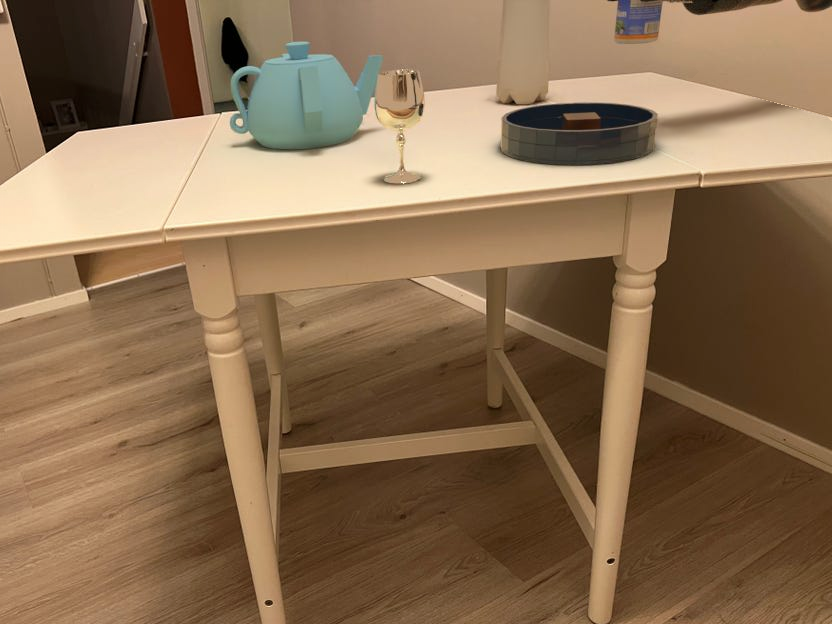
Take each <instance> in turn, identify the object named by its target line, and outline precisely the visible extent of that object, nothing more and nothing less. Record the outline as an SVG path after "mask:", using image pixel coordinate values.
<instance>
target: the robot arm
mask: <svg viewBox="0 0 832 624" xmlns="http://www.w3.org/2000/svg"><path fill="white" fill-rule="evenodd" d="M606 1H607V2H618V0H606ZM640 1H641V2H648V1H657V0H640ZM783 1H784V0H663V2H665V3H669V4H673V3H674V4H677V3H682V5H683V6H684V8H685V9H686V10H687V11H688V12H689V13H691V14H692V15H695V16H702V15H703V16H704V15H711V14H712V15H713V14H719V13H727V12H734V11H735V12H736V11H740V10H744V9H747V8H751V7H758V6H765V5H772V4H777V3H780V2H783ZM795 2H796V4H797V6H798V8H799V9H800V10H801V11H803V12H806V13H818V12H822V11H825V10H828V9H830V8H832V0H795Z"/></svg>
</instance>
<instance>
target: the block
mask: <svg viewBox="0 0 832 624" xmlns="http://www.w3.org/2000/svg"><path fill="white" fill-rule="evenodd" d="M600 121H601V118H600V117H599V116H598V115H597V114H596V113H595V112H592V113H570V114H563V122H562V130H598V129H600Z"/></svg>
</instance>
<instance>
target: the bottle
mask: <svg viewBox="0 0 832 624" xmlns="http://www.w3.org/2000/svg"><path fill="white" fill-rule="evenodd" d="M549 47H550V0H502V13H501V27H500V41H499V55H498V60H497V65H496V88H495V89H496V90H495V93H496V96H497V97H498V100H499V101H500V102H501V103H502V104H503V105H504V104H510V103H512V102H513V101H514V102H515V104H516V105H531V104H534V102H537V101H538V102H539V101H541V102H542V101H543V100H544V99H545V98H546V96H547V94H548V93H549V84H550V83H549V81H550V69H551V61H550V53H549V52H550V51H549V50H550V49H549Z"/></svg>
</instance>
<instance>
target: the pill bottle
mask: <svg viewBox="0 0 832 624" xmlns="http://www.w3.org/2000/svg"><path fill="white" fill-rule="evenodd" d="M663 2H664V1H663V0H657V1H648V2H641V1H640V0H618V1H617V6H616V7H617V8H616V18H615V26H614V27H615V28H614V38H613V39H614V42H615V44H620V45H639V44H640V45H641V44H649V43H654V42H656V41H658V39H659V33H660V25H661V17H662V9H663Z"/></svg>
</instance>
